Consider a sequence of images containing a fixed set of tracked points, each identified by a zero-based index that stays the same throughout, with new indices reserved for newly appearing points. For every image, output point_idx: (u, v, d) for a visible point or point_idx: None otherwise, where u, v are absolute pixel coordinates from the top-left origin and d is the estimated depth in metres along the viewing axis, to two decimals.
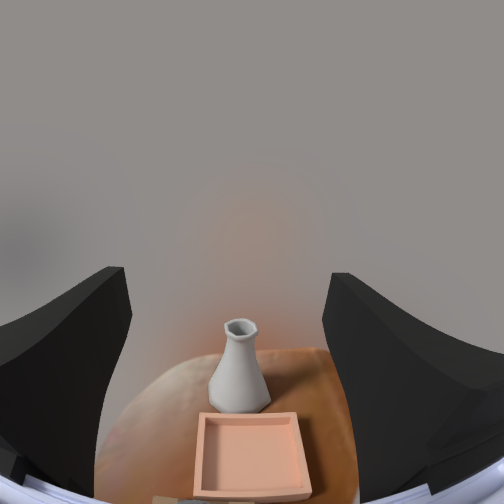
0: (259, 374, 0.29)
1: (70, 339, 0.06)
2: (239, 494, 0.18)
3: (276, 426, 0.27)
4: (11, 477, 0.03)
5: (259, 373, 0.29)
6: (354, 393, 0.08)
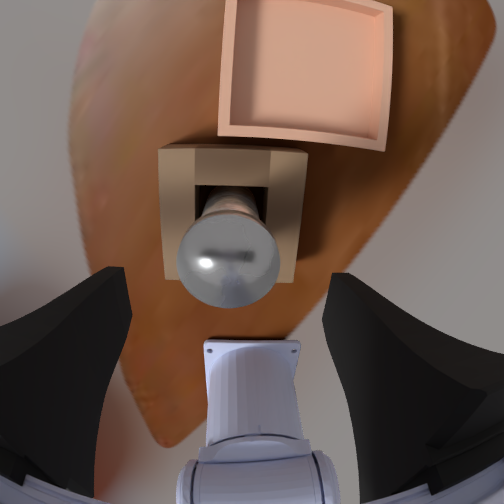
0: None
1: (70, 339, 0.06)
2: (286, 133, 0.15)
3: (355, 14, 0.13)
4: (11, 477, 0.03)
5: None
6: (354, 393, 0.08)
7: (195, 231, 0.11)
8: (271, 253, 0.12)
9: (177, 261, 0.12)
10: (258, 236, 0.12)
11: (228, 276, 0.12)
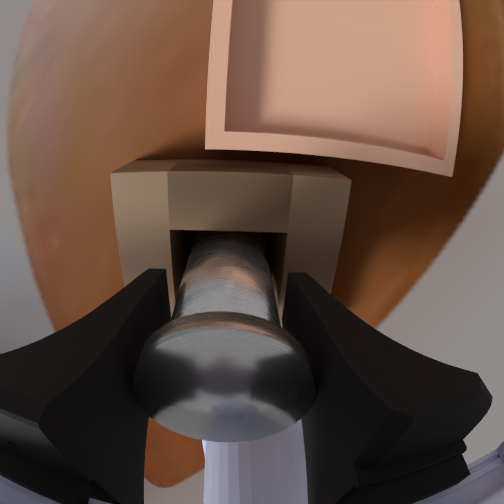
0: None
1: (126, 346, 0.06)
2: (318, 146, 0.09)
3: None
4: None
5: None
6: None
7: (158, 358, 0.05)
8: (302, 386, 0.06)
9: (135, 392, 0.06)
10: (279, 366, 0.06)
11: (224, 414, 0.06)
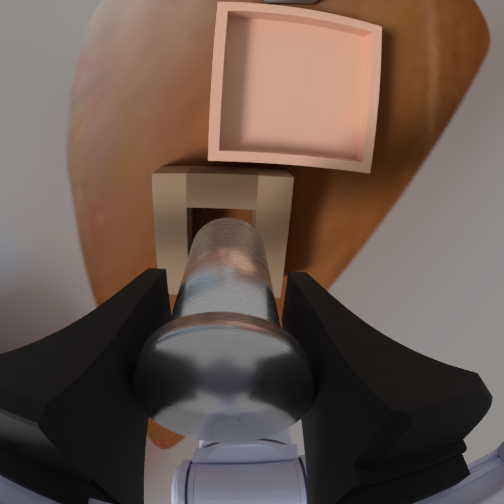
0: None
1: (126, 346, 0.06)
2: (274, 158, 0.16)
3: (344, 34, 0.14)
4: None
5: None
6: None
7: (158, 358, 0.05)
8: (301, 386, 0.06)
9: (135, 392, 0.06)
10: (279, 366, 0.06)
11: (224, 414, 0.06)
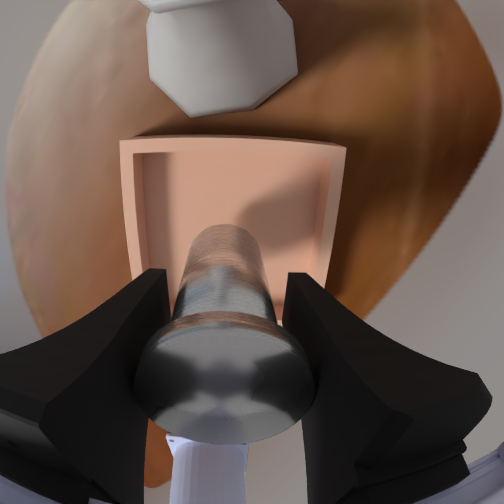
0: (276, 44, 0.08)
1: (126, 346, 0.06)
2: None
3: (295, 157, 0.13)
4: None
5: (276, 42, 0.08)
6: None
7: (160, 357, 0.06)
8: (302, 385, 0.06)
9: (136, 393, 0.06)
10: (280, 364, 0.06)
11: (225, 414, 0.06)
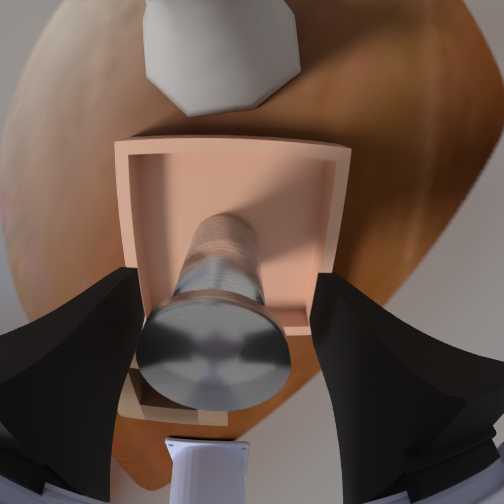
0: (278, 38, 0.07)
1: (88, 341, 0.06)
2: None
3: (298, 158, 0.13)
4: (31, 487, 0.03)
5: (278, 36, 0.07)
6: (338, 395, 0.08)
7: (158, 326, 0.07)
8: (278, 357, 0.07)
9: (137, 359, 0.07)
10: (258, 336, 0.07)
11: (213, 381, 0.08)
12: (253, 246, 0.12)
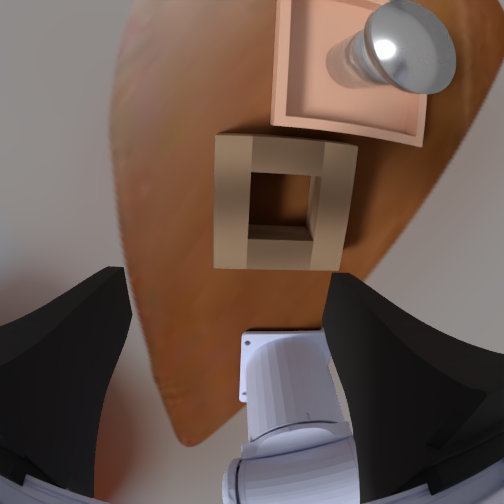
0: None
1: (70, 338, 0.06)
2: (338, 126, 0.16)
3: None
4: (11, 477, 0.03)
5: None
6: (354, 393, 0.08)
7: (390, 5, 0.07)
8: (449, 46, 0.08)
9: (373, 27, 0.08)
10: (439, 27, 0.08)
11: (418, 56, 0.08)
12: None
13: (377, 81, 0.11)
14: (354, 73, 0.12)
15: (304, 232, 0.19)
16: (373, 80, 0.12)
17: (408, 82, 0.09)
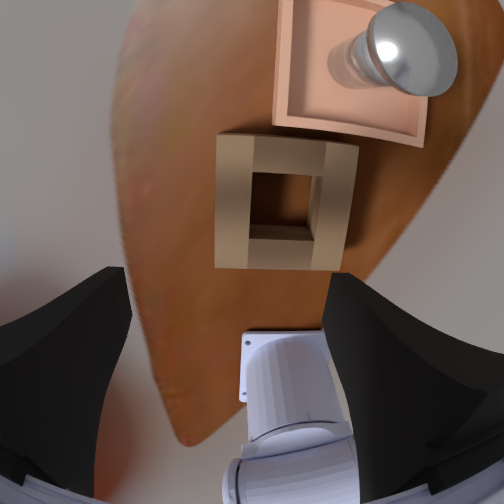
0: None
1: (70, 339, 0.06)
2: (339, 127, 0.16)
3: None
4: (11, 477, 0.03)
5: None
6: (354, 393, 0.08)
7: (393, 7, 0.07)
8: (451, 48, 0.08)
9: (375, 30, 0.08)
10: (441, 29, 0.08)
11: (420, 58, 0.08)
12: None
13: (379, 83, 0.11)
14: (356, 74, 0.12)
15: (305, 232, 0.19)
16: (375, 82, 0.12)
17: (410, 85, 0.09)
